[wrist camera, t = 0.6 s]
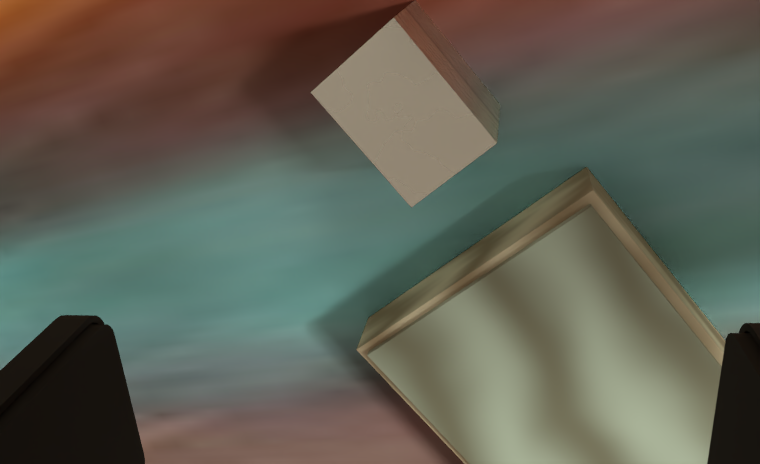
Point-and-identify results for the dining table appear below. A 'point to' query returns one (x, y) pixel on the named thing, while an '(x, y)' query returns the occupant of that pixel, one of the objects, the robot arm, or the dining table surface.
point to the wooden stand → (555, 343)
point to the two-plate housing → (412, 105)
